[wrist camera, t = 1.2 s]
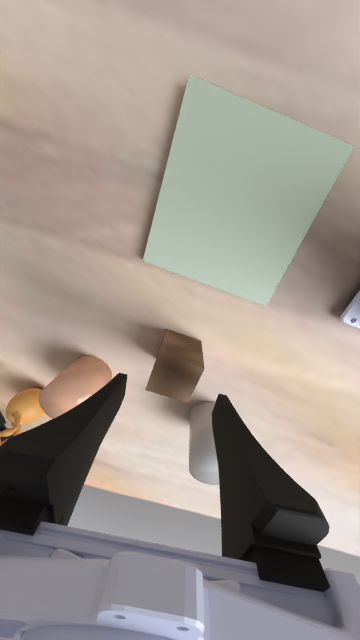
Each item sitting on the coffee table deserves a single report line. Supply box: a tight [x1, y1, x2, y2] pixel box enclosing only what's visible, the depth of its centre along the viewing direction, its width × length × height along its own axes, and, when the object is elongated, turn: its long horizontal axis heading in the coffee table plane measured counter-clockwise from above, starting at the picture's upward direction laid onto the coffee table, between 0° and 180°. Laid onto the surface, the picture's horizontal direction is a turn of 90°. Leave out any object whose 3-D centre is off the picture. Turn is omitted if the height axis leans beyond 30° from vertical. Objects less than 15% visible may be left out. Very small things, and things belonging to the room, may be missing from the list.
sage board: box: [143, 74, 355, 306], centre depth 14 cm, size 12×12×1 cm
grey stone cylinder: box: [189, 402, 220, 485], centre depth 20 cm, size 5×5×6 cm
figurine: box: [0, 388, 45, 446], centre depth 17 cm, size 8×6×12 cm
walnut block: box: [146, 329, 204, 403], centre depth 17 cm, size 4×4×5 cm
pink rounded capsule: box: [38, 356, 112, 419], centre depth 19 cm, size 5×5×5 cm
